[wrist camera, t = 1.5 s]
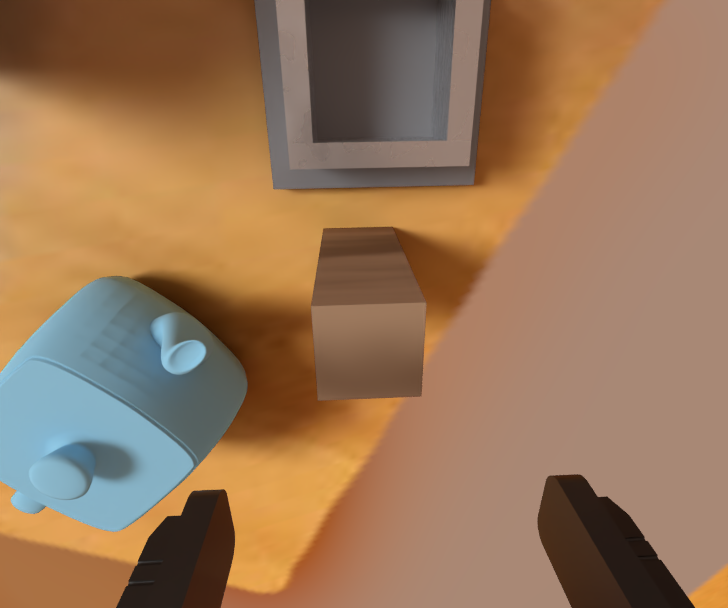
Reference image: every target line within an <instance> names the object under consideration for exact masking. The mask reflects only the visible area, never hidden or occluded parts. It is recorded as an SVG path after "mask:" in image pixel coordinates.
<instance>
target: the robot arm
mask: <svg viewBox="0 0 728 608" xmlns="http://www.w3.org/2000/svg"><path fill="white" fill-rule="evenodd" d="M538 530H539V535H540V539H541V542H542V544H543V546H544V549H545V551H546V553H547V555H548V557H549V560H550V562H551V564H552V566H553V568H554V570H555V572H556V575H557V577H558V579H559V581H560V583H561V585H562V588H563V590H564V592H565V594H566V596H567V598H568V601H569V603H570V605H571V607H572V608H695V607H694V605H693V604H692V603H691V601H690V600H689V598H688V597H687V596H686V594H685V593H684V591H683V590H682V589H681V587H680V586H679V585H678V583H677V582H676V580H675V579H674V578H673V576H672V575H671V573H670V572H669V570H668V569H667V568H666V566H665V565H664V564H663V562H662V561H661V560H659V559H658V557H657V554H656V552H655V551H654V549H653V548H652V547H651V545H650V544H649V542H648V541H645V539H644V536H643V534H642V533H641V531H640V530H639V529H638V527H637V526H636V524H635V523H634V522H633V520H632V519H631V517H630V516H629V515H628V514H627V513H626V512H625V511H623V510H622V509H621V508H620V507H619V506H618V505H616V504H615V503H614V502H613V501H612V500H611V499H609V498H608V497H597V495H596V494H595V492H594V491H593V489H592V488H591V486H590V485H589V483H588V482H587V480H586V479H585V478H584V477H583V476H582V475H578V474H577V475H559V476H558V475H556V476H549V477H548V478H547V479H546V483H545V487H544V492H543V496H542V501H541V505H540V509H539V514H538ZM234 547H235V531H234V526H233V521H232V516H231V512H230V507H229V502H228V497H227V493H226V491H225V490H202V491H193V492H192V493H191V494H190V495H189V497H188V500H187V502H186V504H185V507H184V509H183V512H182V514H181V516H167V517H166V518H165V519H164V521H163V522H162V523H161V524H160V525H159V526H158V527H157V529H156V530H155V531H154V532H153V533H152V534H151V535H150V536H149V538H148V540H147V542H146V545H145V547H144V549H143V551H142V553H141V555H140V557H139V560H138V565H137V566H135V568H134V571H133V573H132V575H131V577H130V579H129V584H128V586H126V588H125V590H124V592H123V594H122V596H121V599H120V601H119V603H118V605H117V607H116V608H221V604H222V599H223V596H224V592H225V588H226V584H227V580H228V576H229V572H230V568H231V564H232V560H233V555H234Z"/></svg>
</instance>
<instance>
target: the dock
mask: <svg viewBox="0 0 728 608" xmlns="http://www.w3.org/2000/svg"><path fill="white" fill-rule="evenodd" d="M254 2H255V12H256V22H257V31H258V41H259V51H260V61H261V71H262V80H263V90H264V100H265V110H266V120H267V130H268V139H269V149H270V159H271V169H272V179H273V188H274V189H308V188H353V187H399V186H445V185H474V177H475V167H476V156H477V145H478V135H479V124H480V113H481V103H482V92H483V81H484V70H485V60H486V49H487V38H488V28H489V17H490V6H491V0H254Z"/></svg>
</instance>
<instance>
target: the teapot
mask: <svg viewBox="0 0 728 608" xmlns="http://www.w3.org/2000/svg"><path fill="white" fill-rule="evenodd" d="M247 386H248V383H247V378H246V373H245V370H244V368H243V366H242V364H241V363H240V361H239V360H238V359H237V358H236V356H235V355H234V354H233V353H232V352H231V351H230V350H229V349H228V348H227V347H226V346H225V345H224V344H223V343H222V342H221V341H220V340H219V339H218V338H217V337H216V336H215V335H214V334H213V333H212V332H211V331H210V330H209V329H208V328H207V327H205V326H204V325H203V324H202V323H201V322H200V321H198V320H197V319H196V318H195V317H193V316H192V315H191V314H189V313H188V312H187V311H185V310H184V309H182V308H181V307H179V306H178V305H176V304H175V303H173V302H172V301H170V300H168V299H167V298H165V297H164V296H162V295H160V294H159V293H157V292H156V291H154V290H152V289H151V288H149V287H147V286H145V285H143V284H142V283H140V282H138V281H135V280H133V279H130V278H127V277H122V276H111V277H103V278H99V279H97V280H95V281H93V282H91V283H89V284H88V285H86V286H85V287H83V288H82V289H81V290H80V291H78V292H77V293H76V294H75V295H74V296H73V297H71V298H70V299H69V300H68V301H67V302H66V303H65V304H64V305H63V306H62V307H61V308H59V309H58V310H57V311H56V312H55V313H54V314H53V315H52V316H51V317H50V318H49V319H48V320H47V321H46V322H45V323H44V324H43V325H42V326H41V327H40V328H39V329H38V330H37V331H36V332H35V333H34V334H33V335H32V336H31V337H30V338H29V339H28V340H27V341H26V342H25V344H24V345H23V346H22V347H21V348H20V349H19V350H18V351H17V353H16V354H15V355H14V356H13V358H12V359H11V360H10V361H9V363H8V364H7V365H6V366H5V368H4V369H3V370H2V372H1V373H0V481H1V482H3V483H5V484H6V485H8V486H10V487H12V488H13V489H15V490H17V491H16V492H15V494H14V495H13V496H12V498H11V503H12V504H13V506H14V507H16V508H17V509H18V510H20V511H22V512H25V513H30V514H35V513H39V512H40V511H41V510H43V509H44V508H45V507H46V506H47V507H49V508H51V509H53V510H55V511H58V512H60V513H62V514H64V515H66V516H69V517H71V518H73V519H75V520H78V521H80V522H82V523H85V524H87V525H90V526H93V527H96V528H99V529H102V530H106V531H112V532H116V531H120V530H122V529H124V528H126V527H128V526H129V525H131V524H132V523H134V522H135V521H136V520H138V519H139V518H140V517H141V516H143V515H144V514H145V513H146V512H148V511H149V510H150V509H151V508H153V507H154V506H155V505H156V504H157V503H159V502H160V501H161V500H162V499H163V498H164V497H166V496H167V495H168V494H169V493H170V492H171V491H173V490H174V489H175V488H176V487H177V486H178V485H179V484H180V483H182V482H183V481H184V480H185V479H186V478H187V477H188V476H189V475H190V474H191V473H192V472H193V470H194V469H195V468H196V467H197V466H198V465H199V464H200V463H201V462H202V461H203V460H204V458H205V457H206V456H207V455H208V454H209V452H210V451H211V450H212V449H213V448H214V446H215V445H216V444H217V443H218V441H219V440H220V439H221V437H222V436H223V435H224V433H225V432H226V431H227V429H228V428H229V426H230V424H231V423H232V421H233V420H234V418H235V416H236V414H237V412H238V411H239V409H240V407H241V405H242V403H243V401H244V398H245V396H246V393H247Z"/></svg>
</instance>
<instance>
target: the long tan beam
mask: <svg viewBox="0 0 728 608" xmlns="http://www.w3.org/2000/svg"><path fill="white" fill-rule="evenodd" d="M311 314H312V327H313V341H314V354H315V368H316V381H317V395H318V401H322V400H346V399H370V398H394V397H418V396H421V394H422V393H421V392H422V375H423V357H424V338H425V320H426V300H425V298H424V296H423V294H422V291H421V289H420V287H419V285H418V283H417V280H416V278H415V276H414V274H413V271H412V269H411V267H410V265H409V263H408V260H407V258H406V256H405V254H404V251H403V249H402V247H401V245H400V242H399V240H398V238H397V236H396V234H395V231H394V229H393V227H366V228H327V229H323V235H322V241H321V247H320V253H319V259H318V266H317V272H316V278H315V284H314V290H313V297H312V303H311Z"/></svg>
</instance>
